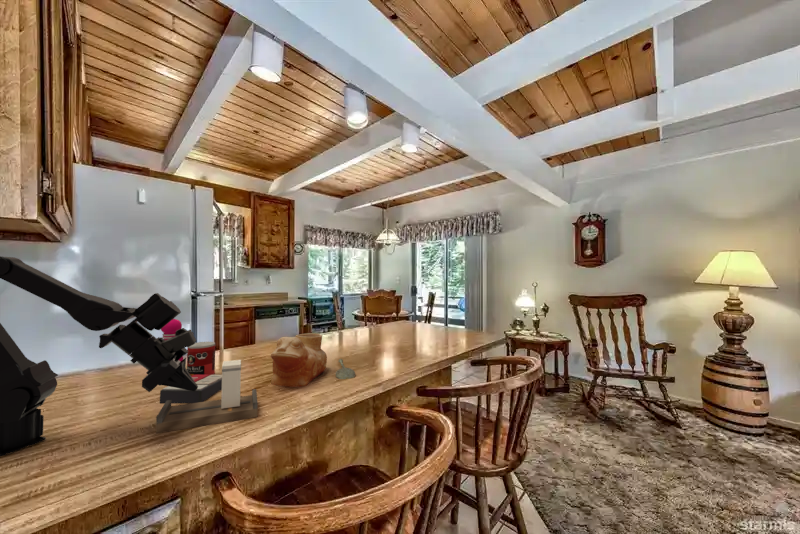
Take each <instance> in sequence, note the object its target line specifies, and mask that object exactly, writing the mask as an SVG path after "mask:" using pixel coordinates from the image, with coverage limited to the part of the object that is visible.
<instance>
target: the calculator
mask: <svg viewBox="0 0 800 534" xmlns="http://www.w3.org/2000/svg"><path fill="white" fill-rule="evenodd" d="M191 377H192V378H193V380H194V381H195V383H196V384H197V386H198V388H197V389H196V390H195V391H190V390H185V389H180V388H175V387H170V386H166V387H163V388H162V389H160V391H159V392H160V394H159V404H165V402H166V401H167V400H171V404H191V403H198V402H205V401H208V399H209V398H210V397H212V396H213V395H215V394H217V393H218V392H220V391H222V374H214V375H210V376H209V375H192V376H191Z"/></svg>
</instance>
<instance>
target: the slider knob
mask: <svg viewBox="0 0 800 534" xmlns="http://www.w3.org/2000/svg"><path fill="white" fill-rule="evenodd" d="M241 371H242V359H235V360H233V359H232V360H223V361H222V366H221V375H222V389H221V409H223V408H230V407H237V406H240V397H241V381H242V380H241V377H242V375H241V373H242V372H241Z"/></svg>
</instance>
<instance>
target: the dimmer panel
mask: <svg viewBox="0 0 800 534" xmlns="http://www.w3.org/2000/svg"><path fill="white" fill-rule="evenodd" d="M258 403H259V402H258V392H257V388H254V389H253V388H252V389H251V394H250V395H243V396H240V406H237V407H230V408H223V409H221V399H213V400H205V401H204V402H198V403H182V404H176V405H172V403H171V400H167V401H166V402H165V403H163V406H162V407H161V409H160V410H159V412H158V414H157V416H156V417H155V418H156V421H155V422H156V423H155V424H156V425H155V434H161V433H167V432H173V431H179V430H185V429H191V428H197V427H202V426H204V427H205V426H211V425H216V424H222V423H228V422H234V421H240V420H246V419H252V418H253V419H254V418H257V417H258Z"/></svg>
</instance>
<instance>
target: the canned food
mask: <svg viewBox="0 0 800 534" xmlns="http://www.w3.org/2000/svg"><path fill="white" fill-rule="evenodd" d="M186 349H187V350H188V352H187V354H186V369H187V371H188V372H189V374H190V375H191V376H192V375H209V376H210V375H215V373H216V370H215V369H216V342H214V341H198V342H197V341H196V342H195V344H193V345H192V346H189V347H186Z"/></svg>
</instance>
